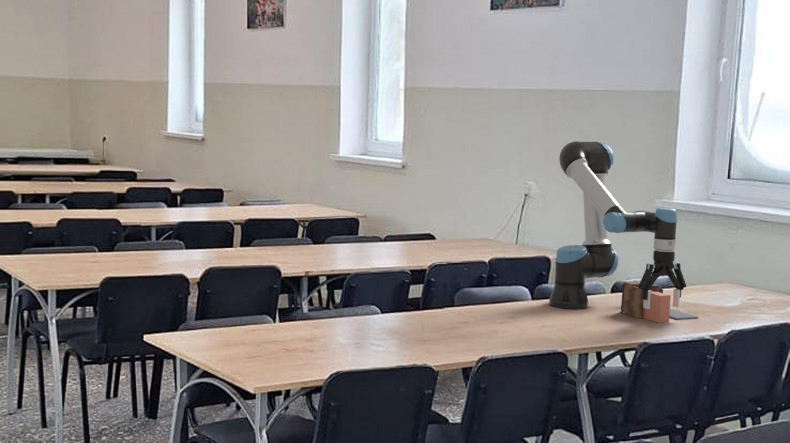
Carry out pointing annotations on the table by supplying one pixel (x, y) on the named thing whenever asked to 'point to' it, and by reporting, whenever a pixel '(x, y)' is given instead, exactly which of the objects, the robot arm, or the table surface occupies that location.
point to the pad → (680, 315)
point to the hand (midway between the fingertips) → (661, 307)
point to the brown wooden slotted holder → (633, 298)
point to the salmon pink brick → (657, 307)
